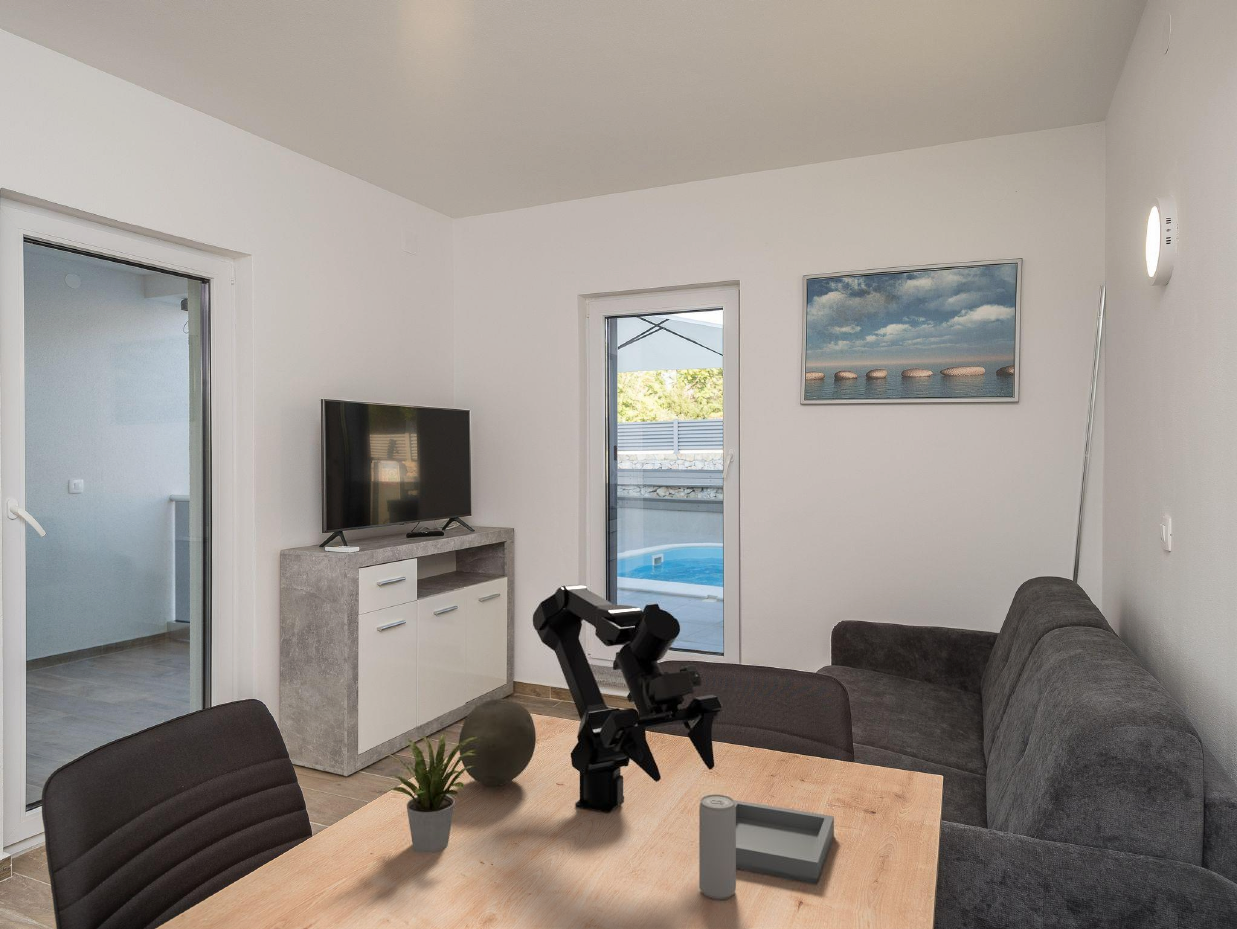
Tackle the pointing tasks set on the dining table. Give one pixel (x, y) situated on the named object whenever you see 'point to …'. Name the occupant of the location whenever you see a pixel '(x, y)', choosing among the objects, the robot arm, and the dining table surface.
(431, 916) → the dining table surface
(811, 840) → the tray
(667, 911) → the dining table surface
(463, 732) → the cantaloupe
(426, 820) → the house plant
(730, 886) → the beverage can
